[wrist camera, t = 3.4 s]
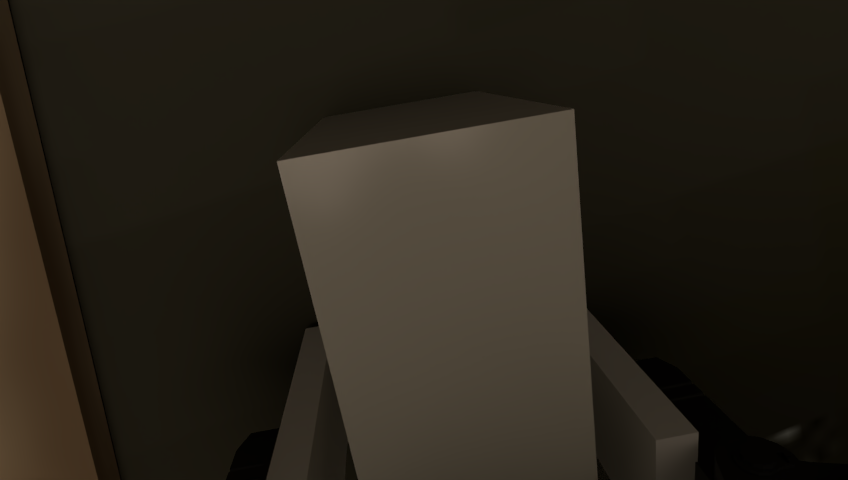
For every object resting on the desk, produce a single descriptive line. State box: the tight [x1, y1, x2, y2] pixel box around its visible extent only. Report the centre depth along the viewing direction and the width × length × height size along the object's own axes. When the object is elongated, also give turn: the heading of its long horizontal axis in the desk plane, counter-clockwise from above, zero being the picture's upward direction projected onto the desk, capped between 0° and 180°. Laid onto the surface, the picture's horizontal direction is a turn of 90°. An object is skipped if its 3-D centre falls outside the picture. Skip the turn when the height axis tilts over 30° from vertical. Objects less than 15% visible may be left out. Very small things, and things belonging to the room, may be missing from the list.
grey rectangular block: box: [277, 91, 598, 480], centre depth 12 cm, size 4×14×7 cm, turn 9°
